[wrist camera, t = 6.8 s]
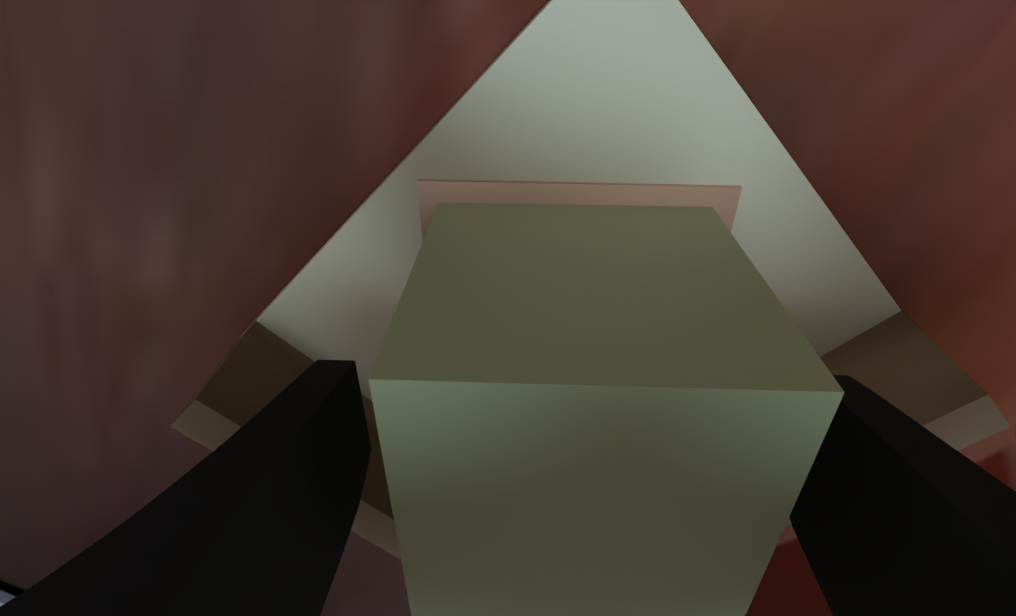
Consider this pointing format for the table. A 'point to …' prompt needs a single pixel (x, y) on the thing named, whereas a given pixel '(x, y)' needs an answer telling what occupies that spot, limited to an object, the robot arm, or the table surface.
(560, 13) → the arena
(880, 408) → the robot arm
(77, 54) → the table surface
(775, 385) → the olive cube
